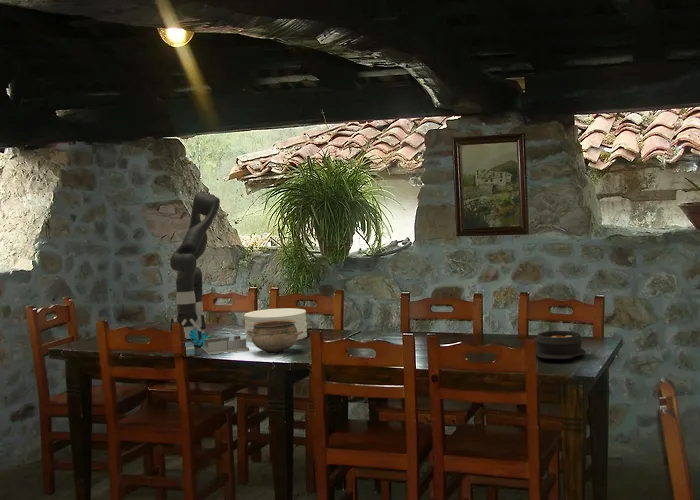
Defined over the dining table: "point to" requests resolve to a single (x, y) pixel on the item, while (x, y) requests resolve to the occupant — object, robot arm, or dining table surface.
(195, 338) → the gear
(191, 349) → the block
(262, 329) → the cooking pot
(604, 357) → the dining table surface
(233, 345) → the plate
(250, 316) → the plate stack
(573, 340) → the casserole
